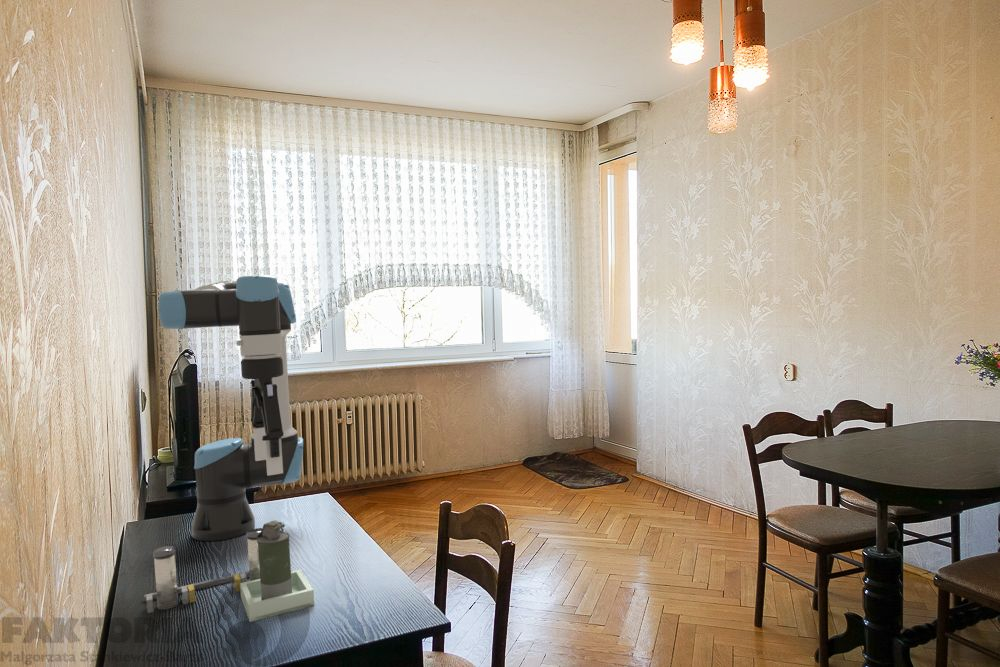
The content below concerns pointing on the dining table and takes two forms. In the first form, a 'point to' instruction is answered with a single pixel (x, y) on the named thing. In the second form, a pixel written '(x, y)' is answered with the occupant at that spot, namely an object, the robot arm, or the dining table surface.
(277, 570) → the grenade
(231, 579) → the fuse rail
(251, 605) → the tray
